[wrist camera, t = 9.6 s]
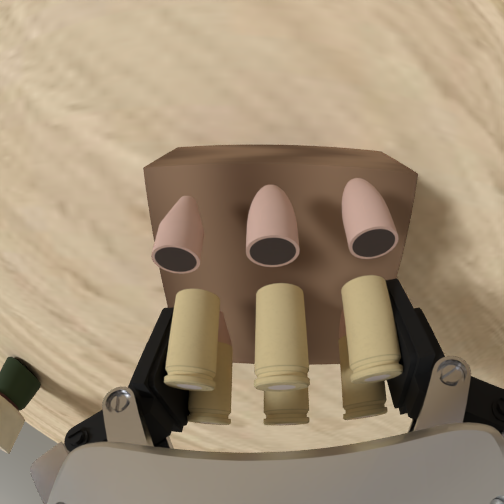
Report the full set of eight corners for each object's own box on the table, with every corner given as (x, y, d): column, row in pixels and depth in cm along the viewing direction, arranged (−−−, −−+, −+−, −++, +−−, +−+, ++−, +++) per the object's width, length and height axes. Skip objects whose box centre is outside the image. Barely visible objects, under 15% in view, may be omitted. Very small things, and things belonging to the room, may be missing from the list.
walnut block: (379, 150, 15) (418, 173, 10) (353, 308, 20) (368, 362, 16) (179, 146, 15) (143, 167, 11) (198, 305, 21) (180, 358, 16)
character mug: (7, 337, 26) (-41, 410, 15) (48, 371, 28) (6, 450, 17) (7, 367, 31) (-28, 427, 20) (42, 394, 33) (11, 457, 22)
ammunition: (384, 428, 9) (443, 235, 5) (192, 436, 10) (98, 263, 6) (364, 342, 13) (377, 173, 9) (212, 351, 14) (166, 194, 10)
